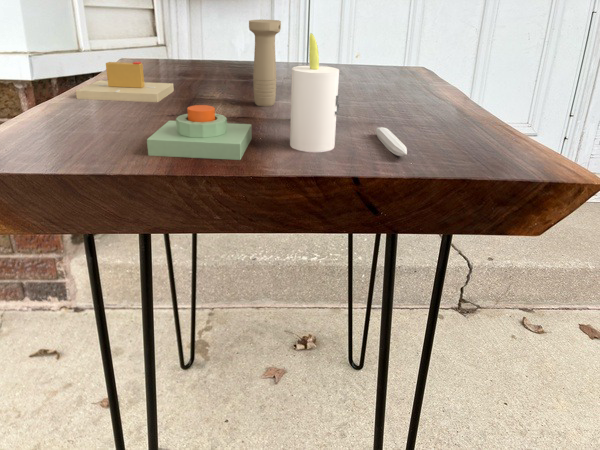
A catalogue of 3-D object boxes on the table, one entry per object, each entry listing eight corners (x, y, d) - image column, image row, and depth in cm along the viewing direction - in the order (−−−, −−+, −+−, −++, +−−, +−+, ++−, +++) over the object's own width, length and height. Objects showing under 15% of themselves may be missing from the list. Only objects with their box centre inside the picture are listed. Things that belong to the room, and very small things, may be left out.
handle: (245, 116, 89) (243, 21, 82) (257, 108, 94) (257, 19, 88) (272, 119, 88) (273, 23, 81) (283, 111, 93) (284, 20, 87)
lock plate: (77, 108, 90) (74, 89, 89) (101, 96, 100) (99, 79, 98) (158, 111, 90) (156, 93, 88) (174, 99, 99) (173, 82, 98)
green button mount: (148, 155, 68) (145, 125, 66) (170, 135, 77) (168, 107, 75) (240, 160, 67) (240, 129, 66) (251, 139, 76) (251, 111, 75)
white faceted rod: (399, 163, 68) (400, 151, 68) (373, 134, 81) (374, 123, 80) (410, 163, 69) (412, 151, 68) (383, 134, 81) (384, 123, 80)
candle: (331, 154, 71) (338, 36, 65) (284, 149, 72) (287, 33, 66) (339, 142, 76) (346, 32, 70) (295, 137, 78) (299, 30, 71)
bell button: (184, 123, 69) (184, 110, 68) (191, 117, 72) (191, 104, 72) (212, 124, 69) (211, 111, 68) (217, 118, 72) (217, 105, 72)
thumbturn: (108, 86, 93) (105, 61, 91) (111, 84, 94) (108, 60, 92) (141, 88, 93) (139, 63, 91) (144, 86, 94) (142, 61, 92)
